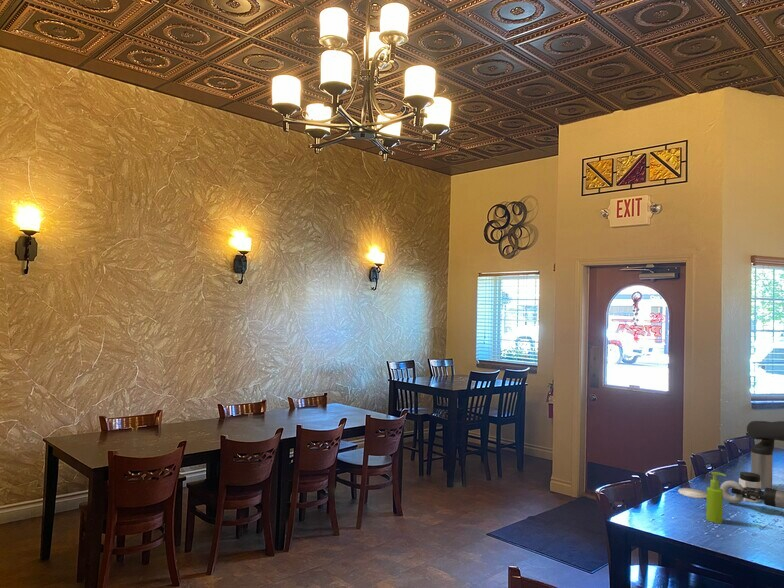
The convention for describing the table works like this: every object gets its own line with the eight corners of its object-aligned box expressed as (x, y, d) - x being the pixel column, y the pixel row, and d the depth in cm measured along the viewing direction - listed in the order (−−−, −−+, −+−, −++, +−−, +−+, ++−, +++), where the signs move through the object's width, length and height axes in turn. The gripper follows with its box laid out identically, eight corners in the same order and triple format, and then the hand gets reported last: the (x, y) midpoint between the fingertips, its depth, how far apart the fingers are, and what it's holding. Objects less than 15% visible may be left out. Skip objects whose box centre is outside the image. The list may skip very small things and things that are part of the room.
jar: (754, 504, 261) (754, 477, 262) (735, 498, 268) (736, 473, 268) (763, 501, 266) (764, 475, 267) (745, 496, 273) (745, 470, 273)
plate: (682, 488, 282) (682, 485, 282) (711, 494, 273) (712, 492, 273) (674, 493, 272) (674, 491, 272) (704, 500, 264) (704, 498, 264)
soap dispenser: (725, 525, 233) (725, 475, 233) (705, 521, 236) (706, 472, 237) (725, 520, 238) (726, 472, 238) (706, 517, 241) (707, 469, 242)
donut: (745, 504, 257) (745, 482, 258) (744, 506, 255) (744, 483, 255) (720, 499, 264) (720, 477, 264) (719, 501, 261) (719, 479, 261)
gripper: (780, 486, 253) (736, 478, 265) (774, 493, 243) (729, 484, 254) (780, 503, 253) (736, 494, 265) (774, 511, 242) (728, 501, 254)
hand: (732, 489), depth 259 cm, fingers closed on donut, 3 cm apart
